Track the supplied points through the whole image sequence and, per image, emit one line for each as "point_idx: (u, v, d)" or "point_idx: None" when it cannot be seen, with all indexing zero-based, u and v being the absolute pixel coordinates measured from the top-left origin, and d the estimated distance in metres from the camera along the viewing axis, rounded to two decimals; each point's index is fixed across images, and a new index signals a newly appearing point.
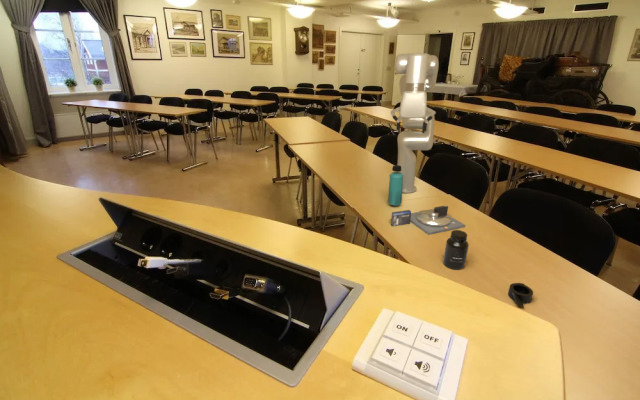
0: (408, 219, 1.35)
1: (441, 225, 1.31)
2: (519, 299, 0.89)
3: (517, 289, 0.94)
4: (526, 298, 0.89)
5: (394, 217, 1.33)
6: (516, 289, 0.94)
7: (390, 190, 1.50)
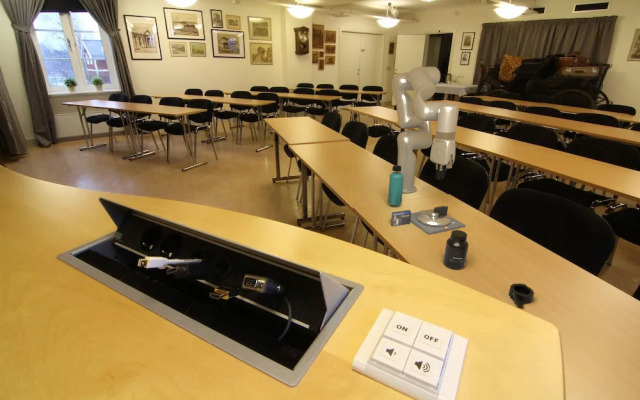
0: (408, 219, 1.35)
1: (441, 225, 1.31)
2: (519, 299, 0.89)
3: (518, 289, 0.94)
4: (526, 299, 0.89)
5: (394, 217, 1.33)
6: (517, 289, 0.94)
7: (390, 190, 1.50)
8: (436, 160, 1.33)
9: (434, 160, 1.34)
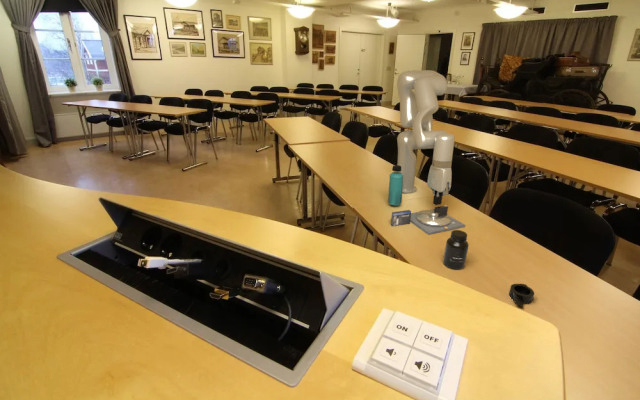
0: (408, 219, 1.35)
1: (441, 225, 1.31)
2: (519, 299, 0.89)
3: (518, 290, 0.94)
4: (526, 299, 0.89)
5: (394, 217, 1.33)
6: (517, 290, 0.94)
7: (390, 190, 1.50)
8: (433, 187, 1.37)
9: (431, 186, 1.39)
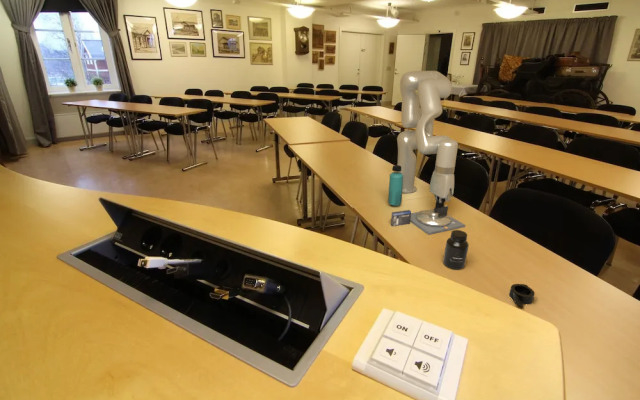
0: (408, 219, 1.35)
1: (441, 225, 1.31)
2: (519, 299, 0.89)
3: (519, 290, 0.94)
4: (526, 299, 0.89)
5: (394, 217, 1.33)
6: (518, 290, 0.94)
7: (390, 190, 1.50)
8: (435, 192, 1.36)
9: (433, 192, 1.38)
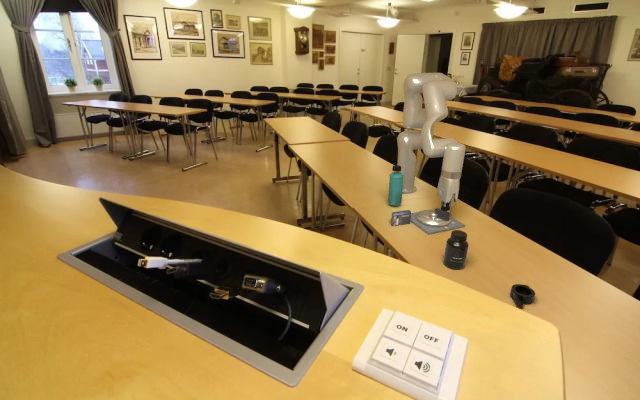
0: (408, 219, 1.35)
1: (424, 223, 1.33)
2: (519, 299, 0.89)
3: (520, 290, 0.94)
4: (526, 299, 0.89)
5: (394, 217, 1.33)
6: (519, 290, 0.94)
7: (390, 190, 1.50)
8: (440, 196, 1.33)
9: (439, 196, 1.35)
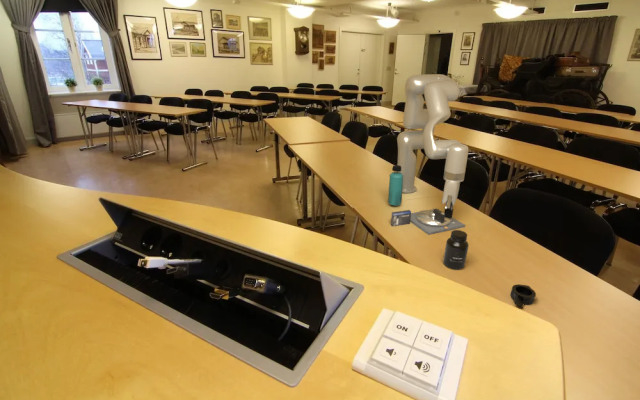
0: (408, 219, 1.35)
1: (417, 218, 1.37)
2: (519, 300, 0.89)
3: (521, 290, 0.93)
4: (526, 299, 0.89)
5: (394, 217, 1.33)
6: (520, 290, 0.93)
7: (390, 190, 1.50)
8: None
9: None
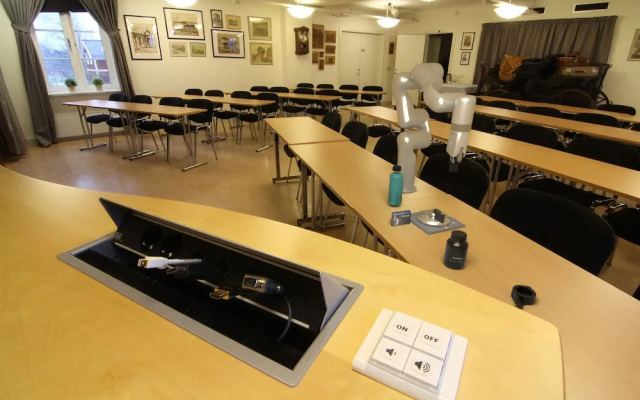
0: (408, 219, 1.35)
1: (417, 218, 1.37)
2: (519, 300, 0.89)
3: (521, 291, 0.93)
4: (526, 300, 0.89)
5: (394, 217, 1.33)
6: (520, 291, 0.93)
7: (390, 190, 1.50)
8: (449, 151, 1.32)
9: (448, 151, 1.33)
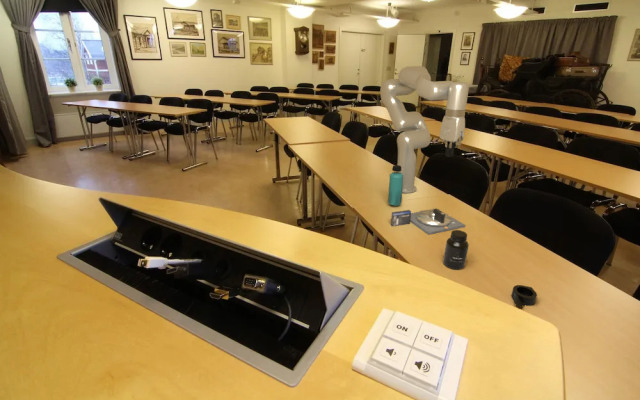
0: (408, 219, 1.35)
1: (417, 218, 1.37)
2: (519, 300, 0.89)
3: (522, 291, 0.93)
4: (527, 300, 0.89)
5: (394, 217, 1.33)
6: (521, 291, 0.93)
7: (390, 190, 1.50)
8: (446, 138, 1.37)
9: (443, 138, 1.38)
